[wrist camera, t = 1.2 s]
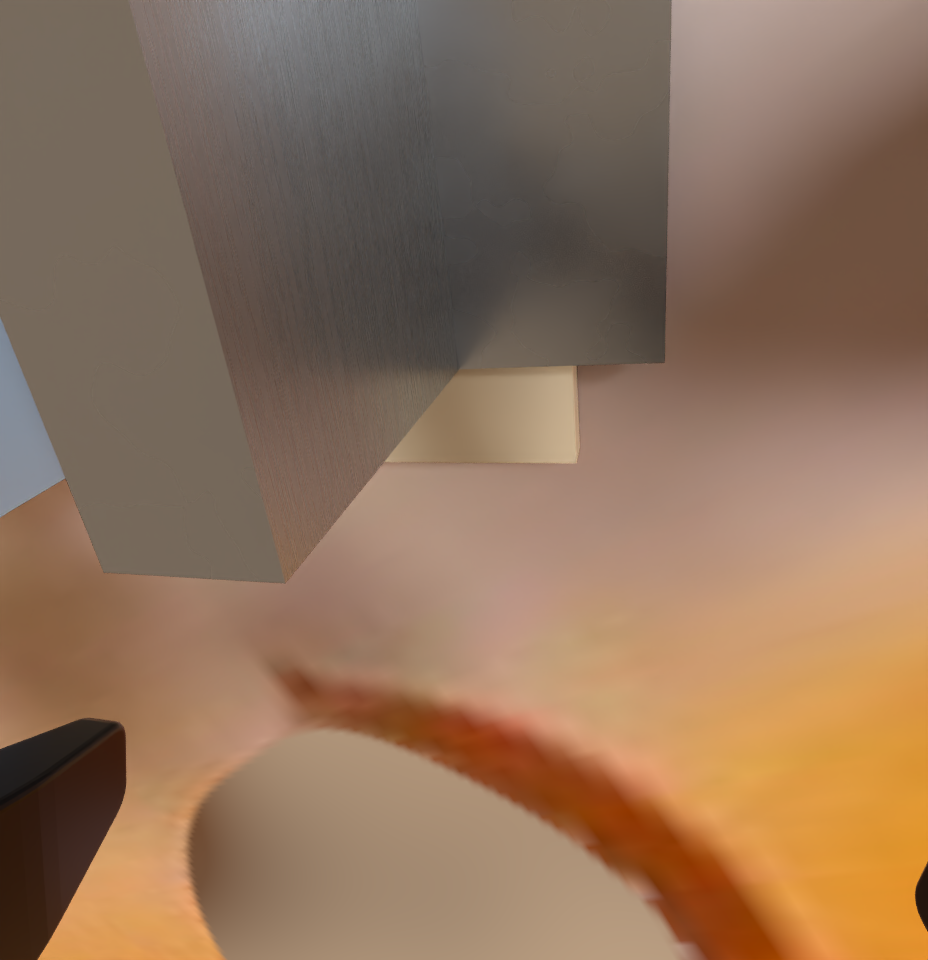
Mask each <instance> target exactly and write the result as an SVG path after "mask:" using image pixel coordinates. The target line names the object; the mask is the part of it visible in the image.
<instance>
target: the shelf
mask: <svg viewBox="0 0 928 960" xmlns="http://www.w3.org/2000/svg"><path fill="white" fill-rule="evenodd" d="M579 450H580V438H579V413H578V387H577V366H548V367H516V368H485V369H459V370H458V372H457V373H456V374H455V375H454V377H453V378H452V379H451V380H450V381H449V383H448V384H447V385H446V386H445V388H444V389H443V390H442V391H441V393H440V394H439V395H438V396H437V397H436V399H435V400H434V401H433V402H432V404H431V405H430V406H429V407H428V409H427V410H426V411H425V412H424V413H423V415H422V416H421V417H420V418H419V420H418V421H417V422H416V423H415V425H414V426H413V427H412V428H411V430H410V431H409V432H408V433H407V434H406V436H405V437H404V438H403V439H402V441H401V442H400V443H399V444H398V446H397V447H396V448H395V449H394V450H393V452H392V453H391V454H390V455H389V457H388V458H387V459H386V460H385V462H438V463H576V462H577V458H578V454H579Z"/></svg>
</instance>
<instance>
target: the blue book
mask: <svg viewBox="0 0 928 960" xmlns="http://www.w3.org/2000/svg"><path fill="white" fill-rule="evenodd" d="M63 479H65V476H64V473H63V471H62V468H61V466H60V463H59V461H58V459H57V456H56V454H55V451H54V449H53V446H52V444H51V441H50V439H49V436H48V434H47V431H46V429H45V426H44V424H43V422H42V419H41V417H40V414H39V412H38V409H37V407H36V404H35V402H34V399H33V397H32V394H31V392H30V389H29V387H28V385H27V382H26V380H25V377H24V375H23V372H22V370H21V367H20V365H19V362H18V360H17V357H16V355H15V353H14V350H13V348H12V345H11V343H10V340H9V338H8V335H7V333H6V330H5V328H4V325H3V323H2V320H1V318H0V517H1V516H3V515H5V514H6V513H8V512H10V511H11V510H13V509H15V508H16V507H18V506H20V505H21V504H23V503H25V502H26V501H28V500H30V499H31V498H33V497H35V496H37V495H38V494H40V493H42V492H43V491H45V490H47V489H48V488H50V487H52V486H53V485H55V484H57V483H58V482H60V481H62V480H63Z"/></svg>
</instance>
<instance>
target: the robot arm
mask: <svg viewBox="0 0 928 960" xmlns="http://www.w3.org/2000/svg"><path fill="white" fill-rule="evenodd" d="M125 789H126V735H125V730H124V727H123V726H122V725H121V724H120V723H119V722H116V721H109V720H102V719H94V718H84V719H79V720H77V721H74V722H71V723H69V724H66V725H63V726H61V727H58V728H55V729H53V730H50V731H47V732H45V733H42V734H39V735H37V736H34V737H31V738H29V739H26V740H23V741H21V742H18V743H15V744H13V745H10V746H7V747H5V748H2V749H0V960H38V958H39V956H40V955H41V953H42V952H43V950H44V949H45V947H46V945H47V944H48V942H49V940H50V939H51V937H52V935H53V933H54V931H55V930H56V928H57V926H58V924H59V923H60V921H61V919H62V917H63V915H64V913H65V911H66V910H67V908H68V906H69V904H70V902H71V900H72V898H73V896H74V894H75V893H76V891H77V889H78V887H79V885H80V883H81V881H82V879H83V877H84V876H85V874H86V872H87V870H88V868H89V866H90V864H91V862H92V860H93V859H94V857H95V855H96V853H97V851H98V849H99V847H100V845H101V843H102V842H103V840H104V838H105V836H106V834H107V832H108V830H109V828H110V826H111V825H112V823H113V821H114V819H115V817H116V815H117V813H118V811H119V809H120V806H121V804H122V801H123V798H124V794H125ZM915 899H916V906H917V909H918V913H919V915H920V918H921V920H922V922H923V924H924V926H925V928H926V929H927V931H928V862H927V864H926V866H925V868H924V870H923V873H922V875H921V877H920V879H919V881H918V883H917V886H916V891H915Z"/></svg>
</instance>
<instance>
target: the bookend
mask: <svg viewBox="0 0 928 960" xmlns="http://www.w3.org/2000/svg"><path fill="white" fill-rule="evenodd" d="M670 50H671V0H0V318H1V320H2V323H3V325H4V328H5V330H6V333H7V335H8V338H9V340H10V343H11V345H12V348H13V350H14V353H15V355H16V357H17V360H18V362H19V365H20V367H21V370H22V372H23V375H24V377H25V380H26V382H27V385H28V387H29V389H30V392H31V394H32V397H33V399H34V402H35V404H36V407H37V409H38V412H39V414H40V417H41V419H42V422H43V424H44V426H45V429H46V431H47V434H48V436H49V439H50V441H51V444H52V446H53V449H54V451H55V454H56V456H57V459H58V461H59V463H60V466H61V468H62V471H63V473H64V476H65V478H66V481H67V483H68V486H69V488H70V491H71V493H72V495H73V498H74V500H75V503H76V505H77V508H78V510H79V513H80V515H81V518H82V520H83V523H84V525H85V528H86V530H87V532H88V535H89V537H90V540H91V542H92V545H93V547H94V550H95V552H96V555H97V557H98V560H99V562H100V565H101V567H102V569H103V572H104V573H119V574H136V575H153V576H170V577H186V578H203V579H220V580H236V581H253V582H270V583H286V582H287V581H288V580H289V578H290V577H291V576H292V575H293V574H294V572H295V571H296V570H297V569H298V567H299V566H300V565H301V564H302V562H303V561H304V560H305V559H306V558H307V556H308V555H309V554H310V553H311V551H312V550H313V549H314V548H315V546H316V545H317V544H318V543H319V542H320V540H321V539H322V538H323V537H324V535H325V534H326V533H327V532H328V530H329V529H330V528H331V527H332V526H333V524H334V523H335V522H336V521H337V519H338V518H339V517H340V516H341V514H342V513H343V512H344V511H345V510H346V508H347V507H348V506H349V505H350V503H351V502H352V501H353V500H354V498H355V497H356V496H357V495H358V494H359V492H360V491H361V490H362V489H363V487H364V486H365V485H366V484H367V482H368V481H369V480H370V479H371V478H372V476H373V475H374V474H375V473H376V471H377V470H378V469H379V468H380V466H381V465H382V464H383V463H384V462H385V460H386V459H387V458H388V457H389V455H390V454H391V453H392V452H393V450H394V449H395V448H396V447H397V446H398V444H399V443H400V442H401V441H402V439H403V438H404V437H405V436H406V434H407V433H408V432H409V431H410V430H411V428H412V427H413V426H414V425H415V423H416V422H417V421H418V420H419V418H420V417H421V416H422V415H423V413H424V412H425V411H426V410H427V409H428V407H429V406H430V405H431V404H432V402H433V401H434V400H435V399H436V397H437V396H438V395H439V394H440V393H441V391H442V390H443V389H444V388H445V386H446V385H447V384H448V383H449V381H450V380H451V379H452V378H453V377H454V375H455V374H456V373H457V372H458V370H459V369H485V368H516V367H548V366H579V365H610V364H642V363H665V313H666V261H667V208H668V155H669V103H670Z"/></svg>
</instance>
